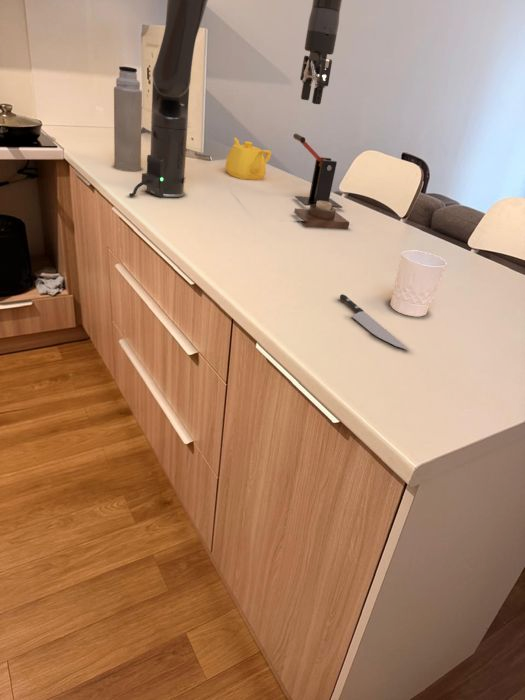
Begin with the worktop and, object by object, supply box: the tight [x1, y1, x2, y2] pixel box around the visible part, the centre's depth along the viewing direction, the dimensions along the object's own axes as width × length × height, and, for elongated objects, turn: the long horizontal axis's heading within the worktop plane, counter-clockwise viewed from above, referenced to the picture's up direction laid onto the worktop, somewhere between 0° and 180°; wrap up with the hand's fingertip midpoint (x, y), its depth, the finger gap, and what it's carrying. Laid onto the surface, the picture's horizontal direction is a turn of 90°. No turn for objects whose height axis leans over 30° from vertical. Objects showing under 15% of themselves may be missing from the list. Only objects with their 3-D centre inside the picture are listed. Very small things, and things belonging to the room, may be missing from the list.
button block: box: [293, 204, 350, 230], centre depth 135 cm, size 12×10×4 cm
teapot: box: [225, 137, 272, 181], centre depth 172 cm, size 22×16×11 cm
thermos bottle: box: [113, 66, 143, 172], centre depth 152 cm, size 8×8×28 cm
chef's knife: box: [339, 293, 409, 351], centre depth 86 cm, size 19×1×3 cm
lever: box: [293, 133, 326, 166], centre depth 144 cm, size 14×6×2 cm
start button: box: [316, 201, 332, 210], centre depth 134 cm, size 4×4×2 cm
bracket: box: [294, 156, 343, 209], centre depth 149 cm, size 12×9×13 cm
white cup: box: [389, 249, 448, 318], centre depth 92 cm, size 8×8×10 cm
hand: (310, 101), depth 135 cm, fingers open, 8 cm apart
